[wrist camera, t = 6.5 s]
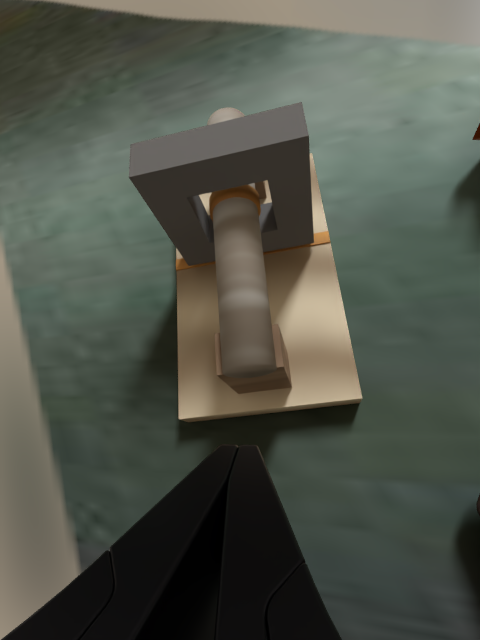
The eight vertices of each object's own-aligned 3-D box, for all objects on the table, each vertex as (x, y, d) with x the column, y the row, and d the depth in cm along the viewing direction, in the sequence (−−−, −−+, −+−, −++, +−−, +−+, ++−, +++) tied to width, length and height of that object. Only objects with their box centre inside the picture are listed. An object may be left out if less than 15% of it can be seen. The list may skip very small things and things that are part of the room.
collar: (314, 242, 23) (308, 135, 15) (188, 266, 24) (128, 177, 17) (309, 216, 23) (301, 102, 16) (187, 240, 25) (130, 144, 17)
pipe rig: (359, 402, 21) (376, 371, 14) (187, 422, 22) (128, 401, 16) (312, 168, 27) (308, 71, 21) (182, 197, 29) (139, 114, 22)
